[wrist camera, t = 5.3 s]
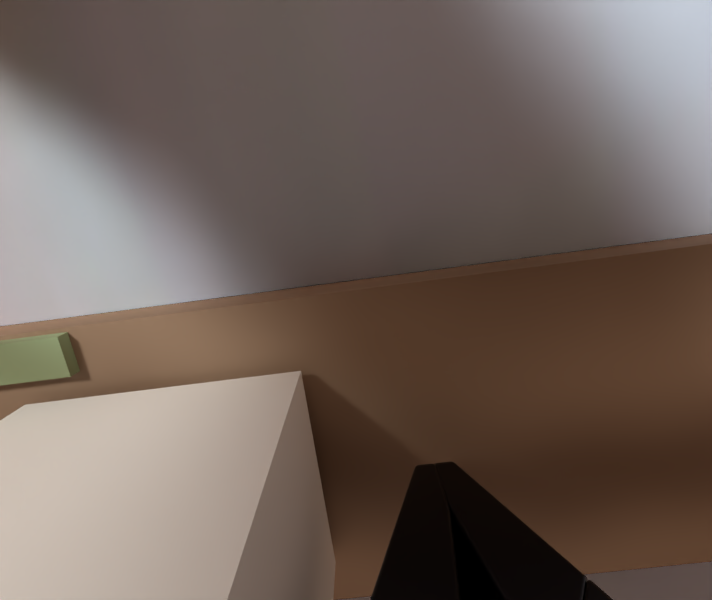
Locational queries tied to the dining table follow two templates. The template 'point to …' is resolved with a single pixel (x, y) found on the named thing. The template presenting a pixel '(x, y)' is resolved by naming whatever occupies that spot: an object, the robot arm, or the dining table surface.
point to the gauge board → (454, 391)
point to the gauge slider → (165, 496)
